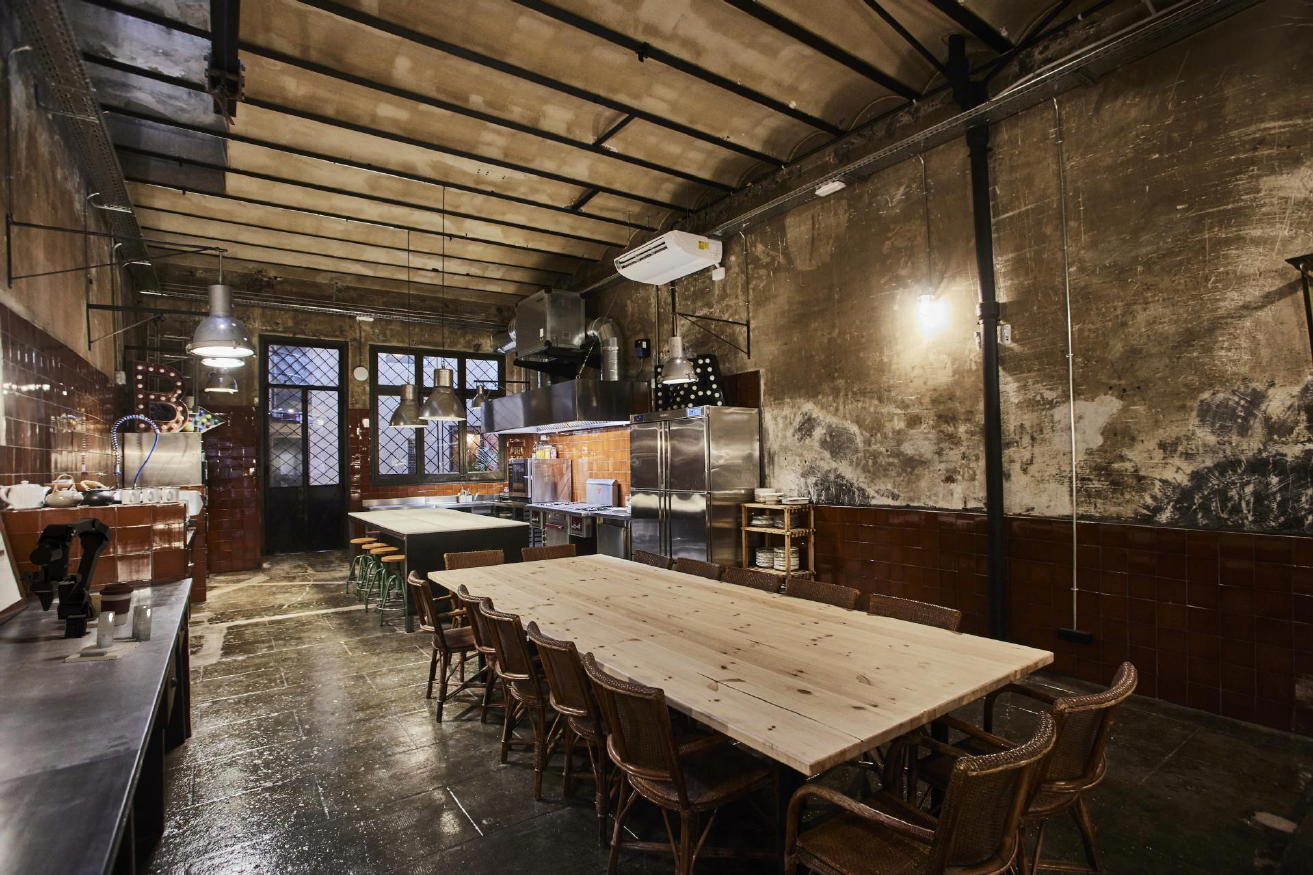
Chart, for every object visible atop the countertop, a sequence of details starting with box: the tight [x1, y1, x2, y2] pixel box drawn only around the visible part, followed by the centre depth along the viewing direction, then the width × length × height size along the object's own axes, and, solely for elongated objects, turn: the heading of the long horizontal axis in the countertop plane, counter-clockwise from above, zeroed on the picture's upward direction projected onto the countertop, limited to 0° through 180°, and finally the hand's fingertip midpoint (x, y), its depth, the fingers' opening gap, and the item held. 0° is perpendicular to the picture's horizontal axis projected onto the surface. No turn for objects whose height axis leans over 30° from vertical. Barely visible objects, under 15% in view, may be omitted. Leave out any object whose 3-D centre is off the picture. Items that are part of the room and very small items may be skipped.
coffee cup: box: [98, 583, 135, 627], centre depth 237 cm, size 10×10×15 cm
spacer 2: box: [131, 604, 149, 640], centre depth 220 cm, size 4×4×11 cm
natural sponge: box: [87, 594, 101, 621], centre depth 241 cm, size 9×9×10 cm
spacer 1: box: [95, 611, 115, 649], centre depth 201 cm, size 4×4×11 cm
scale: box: [64, 641, 141, 663], centre depth 201 cm, size 16×13×2 cm
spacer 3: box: [135, 606, 153, 643], centre depth 217 cm, size 4×4×11 cm
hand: (54, 608), depth 206 cm, fingers open, 9 cm apart
